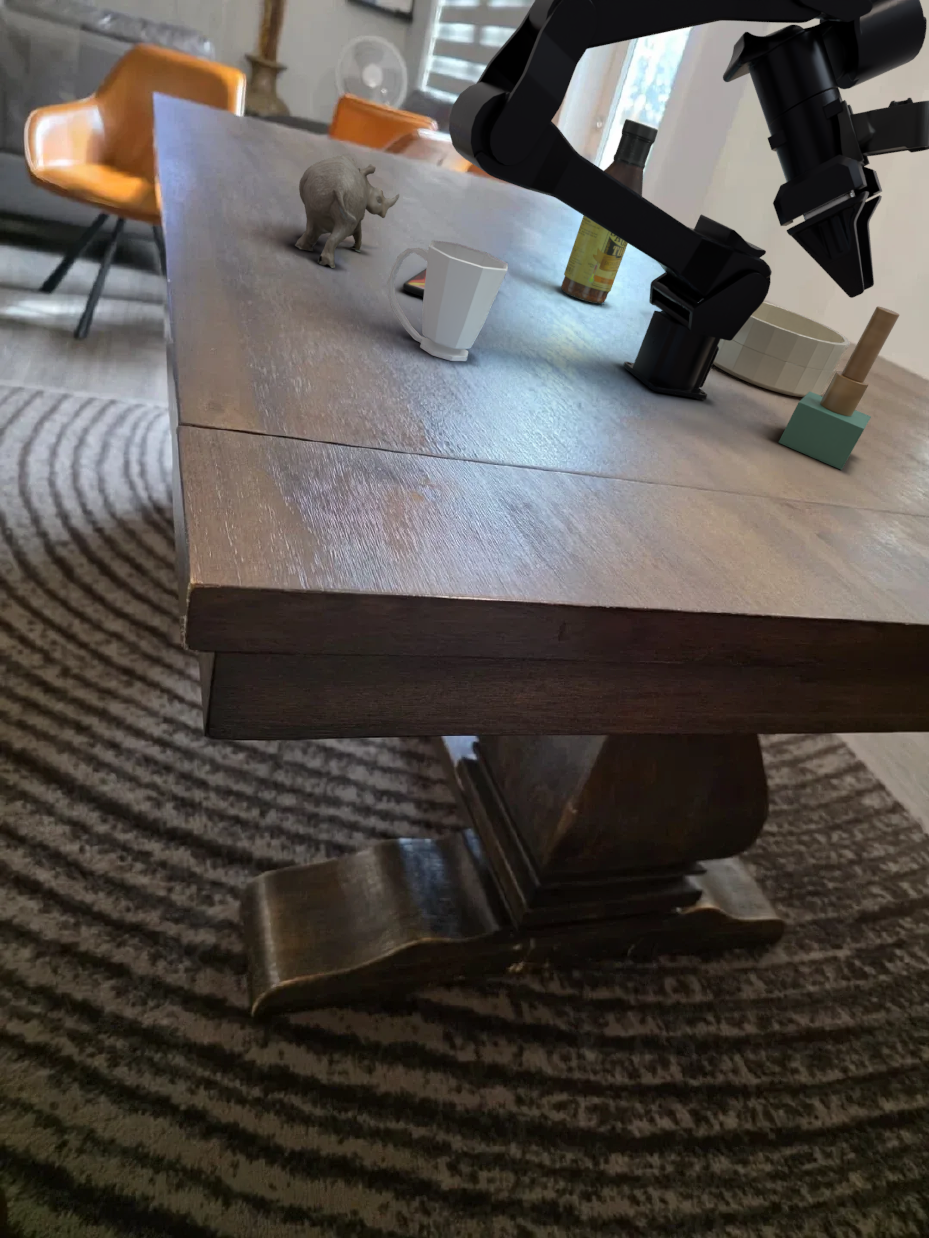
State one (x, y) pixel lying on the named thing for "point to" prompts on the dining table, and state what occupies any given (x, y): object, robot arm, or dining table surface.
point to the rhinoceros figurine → (338, 203)
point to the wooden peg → (859, 365)
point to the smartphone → (416, 284)
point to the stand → (823, 431)
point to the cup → (451, 296)
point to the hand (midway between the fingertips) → (863, 291)
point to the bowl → (783, 352)
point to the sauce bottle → (594, 244)
